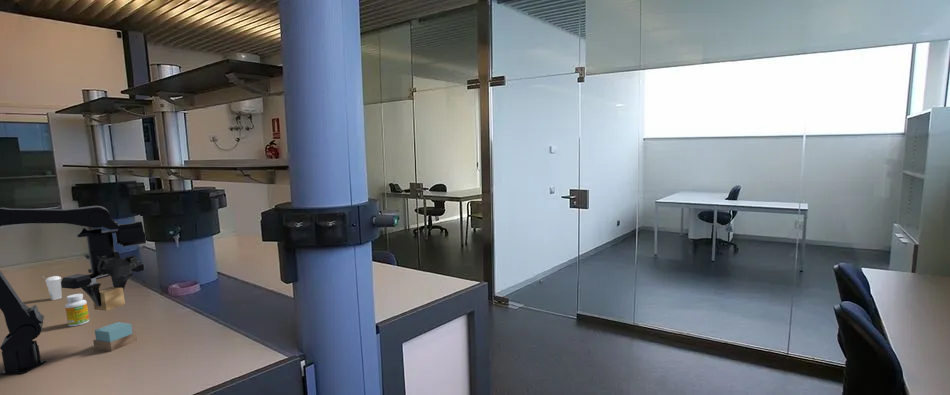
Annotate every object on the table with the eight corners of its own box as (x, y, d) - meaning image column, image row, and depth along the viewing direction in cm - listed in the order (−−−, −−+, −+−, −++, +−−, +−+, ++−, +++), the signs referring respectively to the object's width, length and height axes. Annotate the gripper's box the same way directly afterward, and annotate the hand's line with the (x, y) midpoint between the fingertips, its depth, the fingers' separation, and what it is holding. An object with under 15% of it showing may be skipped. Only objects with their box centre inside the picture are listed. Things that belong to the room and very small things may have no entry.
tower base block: (111, 352, 126) (110, 342, 126) (94, 350, 128) (93, 340, 128) (136, 342, 133) (135, 332, 133) (120, 340, 135) (118, 330, 135)
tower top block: (110, 342, 126) (108, 332, 126) (96, 340, 128) (94, 330, 128) (132, 333, 132) (131, 323, 131) (118, 331, 134) (117, 322, 133)
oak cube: (106, 310, 126) (104, 293, 125) (94, 309, 127) (91, 292, 127) (125, 304, 131) (122, 287, 130) (113, 303, 132) (110, 287, 132)
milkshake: (49, 298, 179) (45, 274, 178) (66, 296, 181) (62, 272, 180) (43, 301, 175) (39, 277, 174) (61, 299, 177) (57, 274, 176)
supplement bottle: (76, 327, 146) (72, 298, 145) (63, 326, 147) (59, 298, 146) (93, 320, 151) (89, 292, 150) (81, 320, 153) (76, 292, 151)
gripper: (83, 259, 116) (92, 317, 118) (154, 243, 133) (161, 293, 135) (55, 257, 119) (64, 314, 121) (128, 242, 137) (134, 291, 139)
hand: (109, 302), depth 129 cm, fingers closed on oak cube, 5 cm apart
